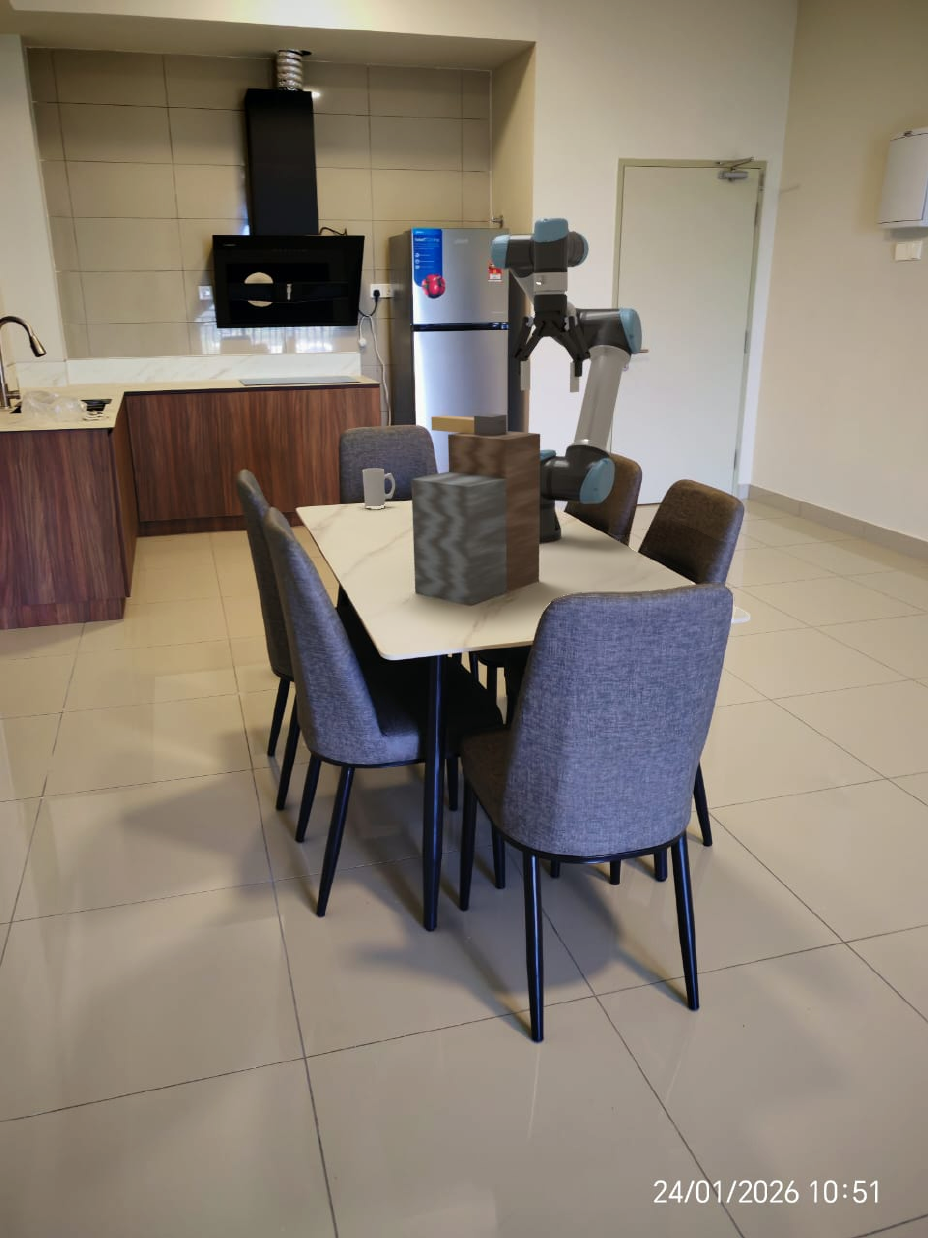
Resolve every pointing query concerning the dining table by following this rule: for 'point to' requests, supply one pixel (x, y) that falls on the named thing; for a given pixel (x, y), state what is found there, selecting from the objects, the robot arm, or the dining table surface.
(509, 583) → the stand
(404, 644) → the dining table surface
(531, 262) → the robot arm
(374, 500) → the mug
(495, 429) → the block
